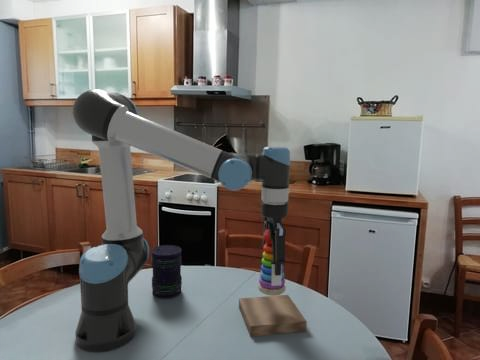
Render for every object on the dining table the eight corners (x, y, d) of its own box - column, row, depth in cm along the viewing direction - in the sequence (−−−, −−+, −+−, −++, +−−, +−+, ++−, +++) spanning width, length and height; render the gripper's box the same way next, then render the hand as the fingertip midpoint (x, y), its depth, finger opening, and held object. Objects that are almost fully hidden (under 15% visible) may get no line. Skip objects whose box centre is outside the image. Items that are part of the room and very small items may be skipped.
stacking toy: (285, 285, 111) (287, 225, 108) (285, 297, 103) (288, 233, 100) (258, 283, 111) (260, 224, 108) (257, 295, 103) (259, 231, 101)
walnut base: (250, 336, 99) (250, 326, 99) (238, 307, 114) (239, 298, 114) (306, 331, 102) (306, 321, 102) (287, 303, 118) (288, 294, 117)
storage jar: (185, 286, 128) (185, 245, 126) (177, 300, 118) (177, 256, 116) (157, 285, 129) (156, 244, 127) (147, 298, 119) (146, 254, 117)
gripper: (300, 210, 94) (296, 293, 97) (277, 194, 114) (274, 265, 117) (272, 210, 92) (269, 295, 96) (253, 195, 112) (251, 266, 116)
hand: (272, 278), depth 106 cm, fingers closed on stacking toy, 7 cm apart
